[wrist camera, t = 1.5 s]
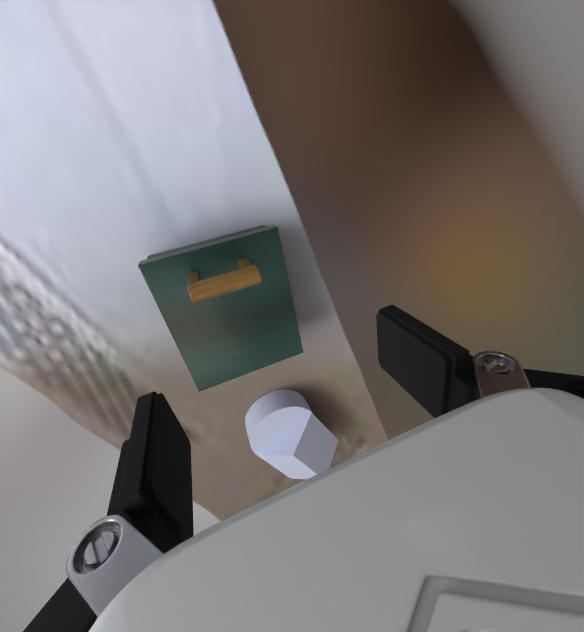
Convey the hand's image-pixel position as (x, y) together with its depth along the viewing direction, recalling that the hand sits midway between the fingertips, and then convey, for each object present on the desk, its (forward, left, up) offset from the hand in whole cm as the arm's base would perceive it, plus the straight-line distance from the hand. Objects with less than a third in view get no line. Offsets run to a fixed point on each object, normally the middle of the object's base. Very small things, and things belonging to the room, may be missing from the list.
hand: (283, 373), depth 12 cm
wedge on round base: (+25, +1, -19) cm, 32 cm away
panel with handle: (+4, -1, -15) cm, 16 cm away
